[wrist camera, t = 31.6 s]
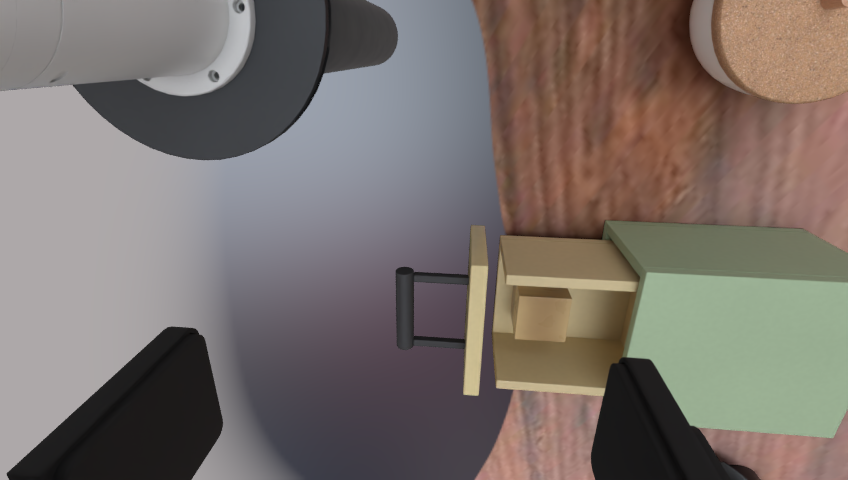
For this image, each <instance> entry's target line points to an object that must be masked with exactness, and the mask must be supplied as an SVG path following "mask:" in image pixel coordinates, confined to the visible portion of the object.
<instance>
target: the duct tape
mask: <svg viewBox="0 0 848 480" xmlns="http://www.w3.org/2000/svg"><path fill="white" fill-rule="evenodd" d="M720 463H721V464H722V466H723V468H724V469H725V471H726V473H727V474H728V476H729V478H730V479H731V480H760V479H759V477H758V476H757V474H756V473H755V472H754V471H753V470H751V469H749V468H747V467H744V466H739V465H728V464H726V463H724V462H720Z"/></svg>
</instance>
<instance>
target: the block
mask: <svg viewBox="0 0 848 480" xmlns="http://www.w3.org/2000/svg"><path fill="white" fill-rule="evenodd" d="M571 304H572V297H571V295H570V293H569V290H568V288H554V287H536V286H518V285H513V292H512V302H511V311H510V313H511V319H512V326H513V332H514V338H515V339H522V340H537V341H552V342H565V340H566V334H567V328H568V322H569V316H570V310H571Z"/></svg>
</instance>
